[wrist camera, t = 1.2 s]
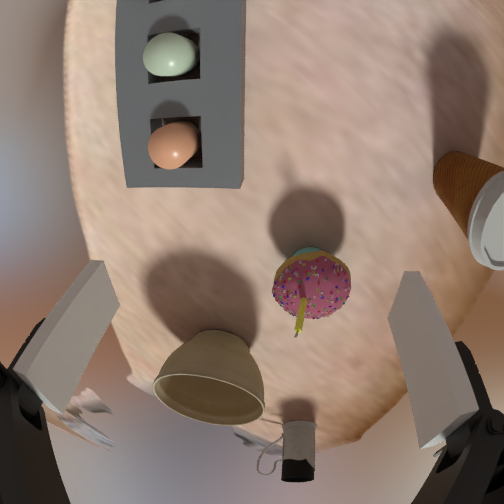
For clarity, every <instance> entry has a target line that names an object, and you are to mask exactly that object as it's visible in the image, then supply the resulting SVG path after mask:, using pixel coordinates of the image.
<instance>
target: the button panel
mask: <svg viewBox="0 0 504 504" xmlns="http://www.w3.org/2000/svg"><path fill="white" fill-rule="evenodd" d="M245 32H246V0H164V1H161V0H117V7H116V30H115V67H116V92H117V108H118V120H119V131H120V140H121V149H122V157H123V165H124V172H125V179H126V185H127V188H135V187H196V188H232V189H240V188H241V185H242V182H243V180H244V103H245ZM162 33H175V34H178V35H180V36H181V35H189V34H198V33H200V79H189V80H178V81H169V82H161V79H160V76H157V75H154V74H152V73H151V72H149V71H148V70H147V69H146V67H145V65H144V62H143V53H144V49H145V47H146V45H147V44H148V42H149V41H150V40H151V39H152V38H154V37H155V36H157V35H159V34H162ZM188 116H201V135H202V160H187V161H186V162H185V163H184V164H183V165H182V166H180V167H178V168H176V169H164V168H161V167H159V166H157V165H156V164H155V163H154V162H153V161H152V159H151V158H150V155H149V152H148V141H149V138H150V136H151V135H152V133H153V132H154V131H156V130H157V129H158V128H161V127H163V125H162V118H172V117H188Z"/></svg>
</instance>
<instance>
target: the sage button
mask: <svg viewBox="0 0 504 504" xmlns="http://www.w3.org/2000/svg"><path fill="white" fill-rule="evenodd" d="M198 60H199V49H198V47H197V45H196V44H195V43H194V42H193V41H192V40H190V39H188V38H185V37H183V36H180V35H178V34H175V33H162V34H159V35H157V36H155V37H154V38H152V39H151V40H150V41H149V42H148V44H147V45H146V47H145V49H144V53H143V62H144V65H145V67H146V69H147V70H148V71H149V72H151V73H152V74H154V75H157V76H181V75H184V74H187V73H189V72H190V71H191V70H192V69H193V68H194V67H195V66H196V64H197V62H198Z"/></svg>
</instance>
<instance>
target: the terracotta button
mask: <svg viewBox="0 0 504 504" xmlns="http://www.w3.org/2000/svg"><path fill="white" fill-rule="evenodd" d="M200 143H201V137H200V133H199V131H198V129H197V128H196V127H195V126H194V125H193V124H192V123H190V122H188V121H185V120H178V121H174V122H172V123H170V124H167V125H165V126H163V127H161V128H158V129H157V130H156V131H154V132H153V133H152V135H151V136H150V138H149V141H148V152H149V155H150V158H151V159H152V161H153V162H154V163H155V164H156V165H157V166H159V167H161V168H164V169H176V168H178V167H180V166H182V165H183V164H184V163H185V162H186V161H187V160H188V159H190V158H191V157H192V156H193V155H194V154H195V153H196V152H197V151H198V149H199V147H200Z"/></svg>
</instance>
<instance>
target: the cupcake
mask: <svg viewBox="0 0 504 504" xmlns="http://www.w3.org/2000/svg"><path fill="white" fill-rule="evenodd" d="M350 290H351V276H350V271H349V269H348V267H347V266H346V265H345V264H344V263H343V262H342V261H341V260H339V259H338V258H336V257H334V256H333V255H331V254H329V253H327V252H325V251H322V250H320V249H318V248H314V247H307V248H303V249H300V250H298V251H297V252H296V253H294V255H293V256H292V257H291V258H289V259H287V260H286V261H285V262H284V263H283V264H282V265H281V266H280V267H279V268H278V270H277V272H276V275H275V279H274V285H273V288H272V294H273V297H275V301H277V302H278V303H279V304H280V306H282V307H283V308H284V311H285V310H286V311H287V312H289V314H290V313H291V314H292V315H293V316H296V317H297V321H296V326H295V332H296V334H295V336H294V338H296V337H297V335H298V333H301V332H302V327H303V321H304V318H312V319H315V318H316V319H319V318H321V317H326V316H329V315H332V313H333V312H335V311H336V310H338V309H340V308H341V307H342V305H343V304H345V302H346V300H347V298H348V297H350V296H349V293H350ZM291 314H290V315H291Z"/></svg>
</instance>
